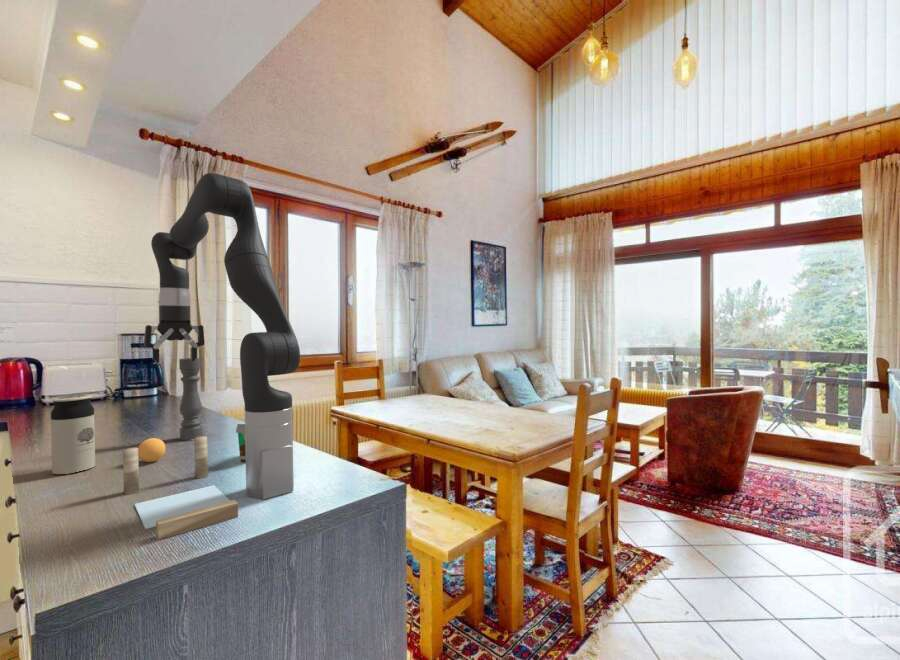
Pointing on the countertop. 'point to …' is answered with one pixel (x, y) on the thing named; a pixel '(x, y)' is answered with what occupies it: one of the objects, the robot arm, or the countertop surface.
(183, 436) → the candle holder
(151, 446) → the ball
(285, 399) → the robot arm
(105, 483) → the countertop surface
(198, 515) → the wall
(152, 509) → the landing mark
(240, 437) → the food container
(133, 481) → the left post
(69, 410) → the travel mug
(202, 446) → the right post
